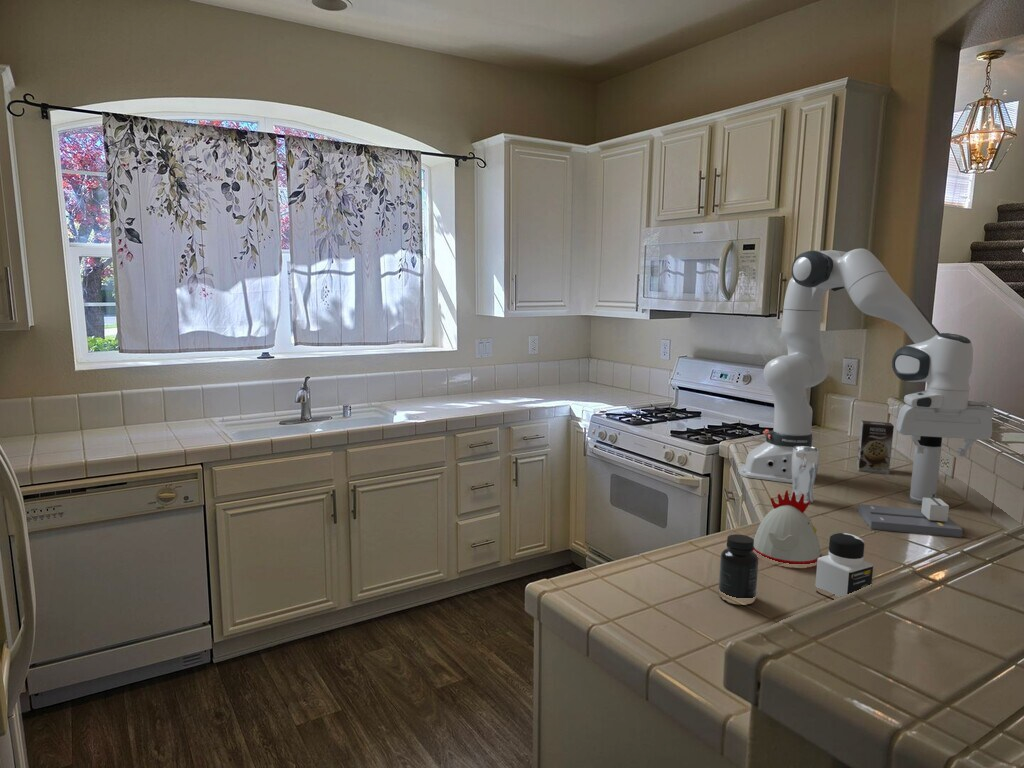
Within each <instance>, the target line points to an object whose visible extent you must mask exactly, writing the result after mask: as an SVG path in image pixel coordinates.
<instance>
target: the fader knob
mask: <svg viewBox="0 0 1024 768" xmlns="http://www.w3.org/2000/svg"><path fill="white" fill-rule="evenodd" d="M949 510H950V506H949V504H947V503H946V502H945V501H944V500H942V499H941V498H937V497H936V498H932V497H930V498H924V497H923V500H922V505H921V513H922V514H923V515H924V516H926V517H927V518H928V519H929V520H934V521H946V522H947V520H948V517H949Z"/></svg>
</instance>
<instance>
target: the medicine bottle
mask: <svg viewBox="0 0 1024 768" xmlns="http://www.w3.org/2000/svg"><path fill="white" fill-rule="evenodd" d="M865 544H866V543H865V541H864V539H862V538H861V537H859V536H857V535H854V534H852V533H845V532H837V533H833V534H832V535H830V536H829V542H828V545H829V546H828V554H827V555H822V556H820V557H819V558H818V560H817V565H816V574H815V586H816V587H817V588H820V589H823V590H826V591H828V592H830V593H832V594H835V596H838V597H840V596H844V595H847V594H849V593H852V592H854V591H857V590H859V589H861V588H863V587H866V586H868V585H870V584H872V583H873V574H874V564H873V563H870V562H868V561H865V560H864V554H865ZM872 585H873V584H872ZM815 586H814V587H815Z"/></svg>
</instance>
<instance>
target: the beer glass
mask: <svg viewBox="0 0 1024 768" xmlns="http://www.w3.org/2000/svg"><path fill="white" fill-rule="evenodd" d="M819 457H820V456H819V449H818V448H817V447H813V446H812V447H809V446H794V447H793V453H792V460H791V471H792V480H793V483H792V489H791V494H790V497H789V500H791V499H792V495H793V492H795V496H796V501H797V502H799V500H800V498H801V496H802V494H804V503H805V504H806V503H808V502H809V501H810V500H811V501H810V504H812V503H814V502H813V501H814V499H815V498H814V486H815V482H816V479H817V474H818V470H819Z"/></svg>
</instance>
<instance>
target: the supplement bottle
mask: <svg viewBox="0 0 1024 768" xmlns="http://www.w3.org/2000/svg"><path fill="white" fill-rule="evenodd" d="M726 539H727V540H726V548H725V549H723V550H722V551H721V553H720V561H719V562H720V563H719V578H718V579H719V580H718V590H719V589H720V591H721V592H723V593H725V594H726V595H729V596H732V597H736V598H753V597H755V596H756V597H757V586H758V576H759V575H758V572H759V558H758V557H757V555H756V554H755V553H754V552H753V550H754V539H753V537H751V536H748V535H745V534H738V533H737V534H736V533H735V534H730V535H728V536H727V538H726Z"/></svg>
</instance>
